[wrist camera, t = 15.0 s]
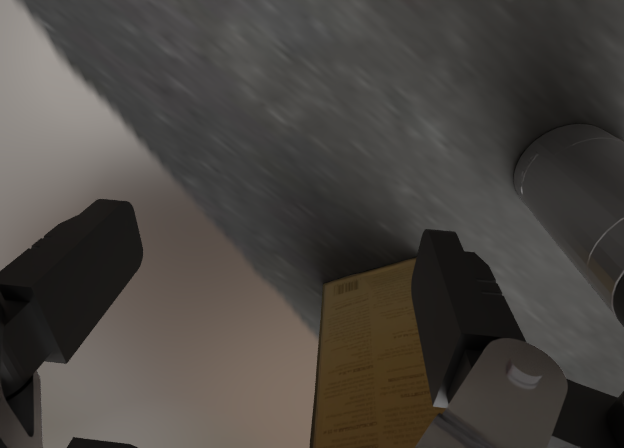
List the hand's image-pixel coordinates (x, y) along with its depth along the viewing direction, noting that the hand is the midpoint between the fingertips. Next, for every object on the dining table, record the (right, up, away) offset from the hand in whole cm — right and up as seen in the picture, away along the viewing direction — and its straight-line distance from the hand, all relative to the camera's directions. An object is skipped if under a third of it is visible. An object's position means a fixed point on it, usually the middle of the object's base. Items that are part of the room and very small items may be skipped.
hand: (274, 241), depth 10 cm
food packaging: (+10, -9, +38) cm, 40 cm away
